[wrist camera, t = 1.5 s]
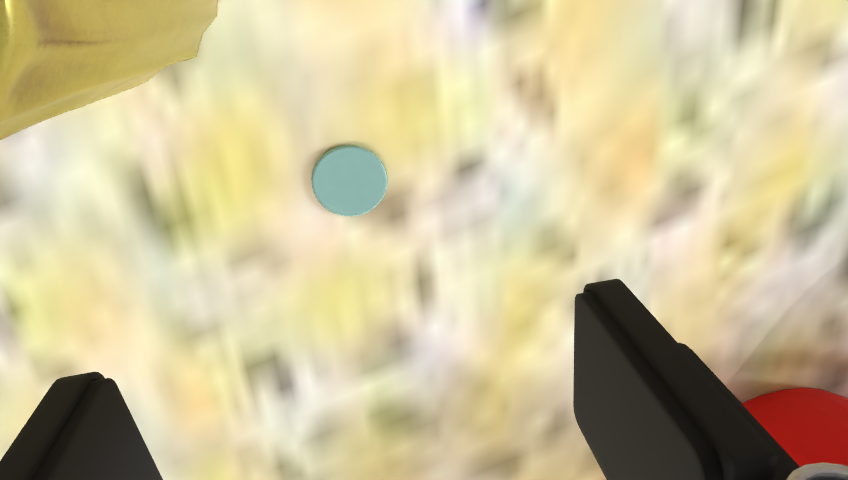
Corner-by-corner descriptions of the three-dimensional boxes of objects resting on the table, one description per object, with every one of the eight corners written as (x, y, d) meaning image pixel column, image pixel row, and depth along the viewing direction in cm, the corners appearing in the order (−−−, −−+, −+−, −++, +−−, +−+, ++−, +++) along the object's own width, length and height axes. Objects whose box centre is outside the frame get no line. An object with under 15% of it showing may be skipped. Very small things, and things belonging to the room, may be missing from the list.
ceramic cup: (908, 385, 34) (1119, 527, 25) (678, 534, 36) (793, 713, 27) (844, 243, 29) (1081, 358, 20) (579, 429, 31) (681, 608, 22)
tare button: (306, 141, 20) (304, 152, 18) (378, 130, 20) (381, 141, 19) (320, 207, 21) (320, 222, 20) (389, 196, 21) (392, 210, 20)
